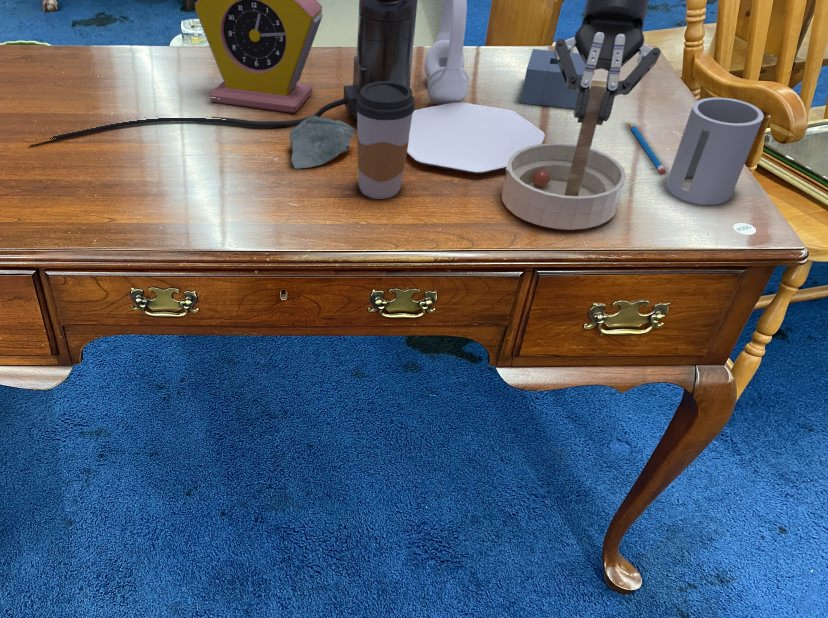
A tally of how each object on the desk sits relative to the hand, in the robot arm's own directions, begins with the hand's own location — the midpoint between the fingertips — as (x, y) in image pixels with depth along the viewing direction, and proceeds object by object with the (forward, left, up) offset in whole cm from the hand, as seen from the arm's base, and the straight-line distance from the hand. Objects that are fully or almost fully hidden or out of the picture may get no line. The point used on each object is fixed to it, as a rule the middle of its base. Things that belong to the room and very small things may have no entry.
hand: (590, 121), depth 104 cm
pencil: (+21, +20, -15) cm, 33 cm away
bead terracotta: (0, +10, -13) cm, 16 cm away
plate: (-7, +26, -15) cm, 31 cm away
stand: (+13, +42, -15) cm, 47 cm away
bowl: (+1, +5, -15) cm, 16 cm away
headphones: (-6, +45, -15) cm, 48 cm away
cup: (+23, +6, -15) cm, 28 cm away
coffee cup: (-24, +13, -15) cm, 31 cm away
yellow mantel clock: (-39, +49, -15) cm, 65 cm away
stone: (-32, +25, -15) cm, 44 cm away
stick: (+1, +2, -12) cm, 12 cm away
